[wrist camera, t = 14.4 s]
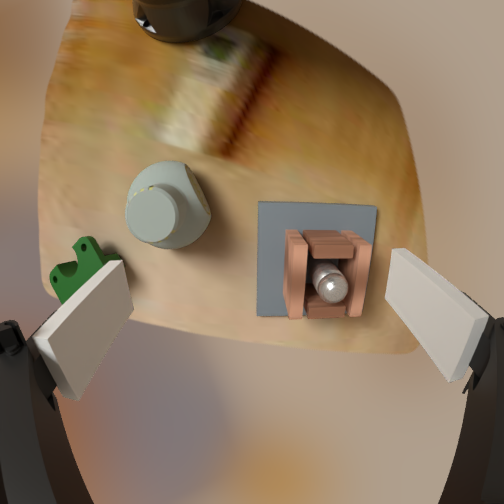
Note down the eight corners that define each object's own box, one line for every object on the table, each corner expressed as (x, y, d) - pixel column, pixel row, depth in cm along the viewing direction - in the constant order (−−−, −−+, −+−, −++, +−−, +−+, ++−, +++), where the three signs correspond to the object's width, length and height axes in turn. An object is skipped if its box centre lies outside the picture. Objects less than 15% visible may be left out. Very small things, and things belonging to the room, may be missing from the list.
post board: (258, 201, 37) (258, 202, 35) (373, 205, 37) (376, 206, 36) (256, 311, 41) (256, 315, 40) (359, 308, 42) (362, 312, 41)
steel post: (305, 250, 37) (322, 279, 28) (330, 250, 38) (354, 278, 28) (303, 275, 39) (319, 309, 29) (328, 275, 39) (349, 308, 29)
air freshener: (220, 225, 38) (210, 247, 28) (167, 250, 39) (143, 278, 29) (183, 151, 34) (161, 147, 25) (131, 180, 35) (96, 188, 26)
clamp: (112, 237, 42) (95, 225, 33) (131, 267, 42) (116, 262, 34) (59, 277, 39) (33, 274, 31) (76, 308, 40) (52, 312, 31)
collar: (285, 229, 37) (293, 245, 30) (351, 230, 37) (372, 245, 30) (282, 293, 39) (289, 319, 33) (344, 291, 39) (360, 316, 33)
